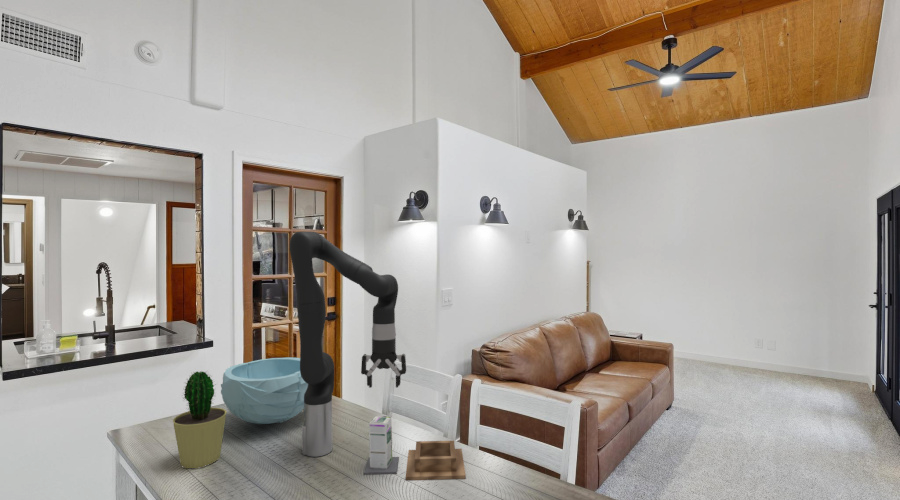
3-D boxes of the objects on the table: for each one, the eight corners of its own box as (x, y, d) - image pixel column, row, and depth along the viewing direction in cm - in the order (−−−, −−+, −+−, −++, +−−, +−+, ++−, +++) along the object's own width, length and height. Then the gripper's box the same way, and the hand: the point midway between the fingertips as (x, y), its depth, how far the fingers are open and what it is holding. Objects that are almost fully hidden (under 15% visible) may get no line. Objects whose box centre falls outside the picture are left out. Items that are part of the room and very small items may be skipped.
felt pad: (363, 474, 140) (363, 472, 140) (368, 459, 150) (368, 457, 150) (396, 473, 140) (396, 471, 140) (398, 458, 150) (398, 456, 150)
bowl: (259, 450, 157) (259, 386, 156) (203, 428, 175) (202, 372, 175) (335, 417, 186) (335, 364, 186) (280, 402, 205) (279, 353, 205)
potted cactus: (237, 453, 154) (236, 365, 154) (199, 475, 140) (197, 378, 139) (202, 447, 159) (201, 361, 159) (161, 467, 145) (160, 373, 144)
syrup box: (387, 469, 141) (386, 423, 141) (369, 468, 142) (368, 421, 142) (392, 460, 147) (392, 416, 147) (374, 459, 148) (374, 415, 148)
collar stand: (405, 480, 136) (405, 463, 136) (408, 452, 154) (408, 438, 154) (465, 478, 137) (465, 462, 137) (461, 451, 155) (461, 437, 155)
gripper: (359, 339, 143) (359, 390, 143) (405, 339, 143) (405, 390, 143) (363, 334, 150) (363, 383, 150) (406, 334, 150) (406, 383, 151)
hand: (383, 386), depth 147 cm, fingers open, 8 cm apart
